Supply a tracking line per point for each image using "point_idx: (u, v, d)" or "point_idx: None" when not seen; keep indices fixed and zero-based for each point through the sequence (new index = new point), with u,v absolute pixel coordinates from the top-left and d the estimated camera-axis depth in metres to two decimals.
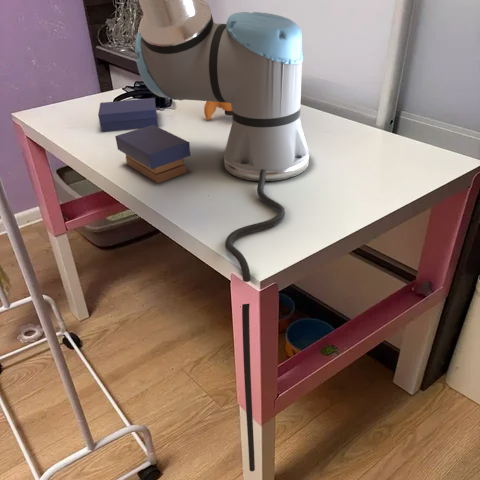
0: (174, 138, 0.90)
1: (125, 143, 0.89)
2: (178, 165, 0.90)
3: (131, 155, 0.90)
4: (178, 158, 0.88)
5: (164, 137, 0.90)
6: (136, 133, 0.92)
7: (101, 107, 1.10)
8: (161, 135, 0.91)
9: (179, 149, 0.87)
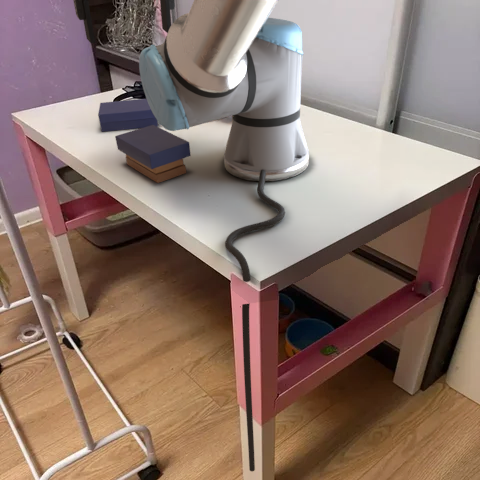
0: (174, 138, 0.90)
1: (125, 143, 0.89)
2: (178, 165, 0.90)
3: (131, 155, 0.90)
4: (178, 158, 0.88)
5: (164, 137, 0.90)
6: (136, 133, 0.92)
7: (101, 107, 1.10)
8: (161, 135, 0.91)
9: (179, 149, 0.87)
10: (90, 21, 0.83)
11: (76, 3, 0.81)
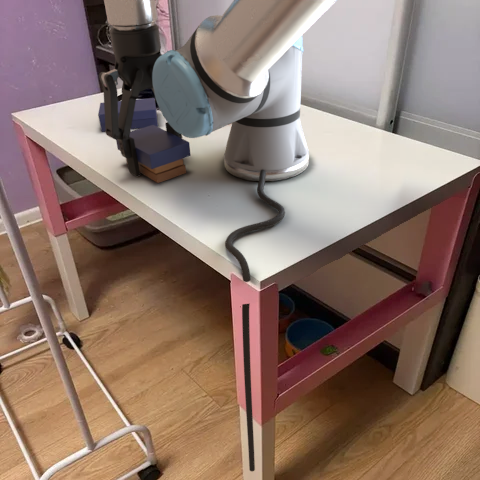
0: (174, 138, 0.90)
1: None
2: (178, 165, 0.90)
3: None
4: (178, 158, 0.88)
5: (164, 137, 0.90)
6: (136, 133, 0.92)
7: (101, 107, 1.10)
8: (161, 136, 0.91)
9: (179, 149, 0.87)
10: (136, 158, 0.88)
11: (123, 145, 0.86)
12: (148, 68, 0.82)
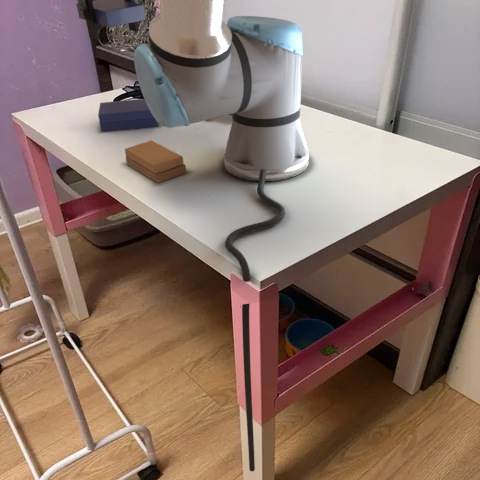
0: (130, 3, 0.96)
1: None
2: (178, 165, 0.90)
3: None
4: (134, 20, 0.95)
5: (122, 3, 0.97)
6: (96, 1, 0.99)
7: (101, 107, 1.10)
8: (119, 2, 0.97)
9: (134, 10, 0.94)
10: (95, 20, 0.95)
11: (82, 5, 0.93)
12: None
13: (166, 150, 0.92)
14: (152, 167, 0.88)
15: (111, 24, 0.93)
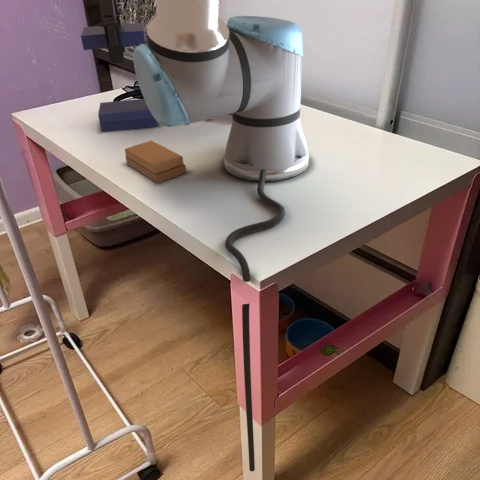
0: (126, 24, 1.03)
1: (101, 36, 0.98)
2: (178, 165, 0.90)
3: None
4: None
5: (119, 26, 1.02)
6: (90, 31, 1.00)
7: (101, 107, 1.10)
8: None
9: None
10: (121, 44, 0.99)
11: (115, 31, 0.96)
12: None
13: (166, 150, 0.92)
14: (152, 167, 0.88)
15: (145, 42, 1.00)
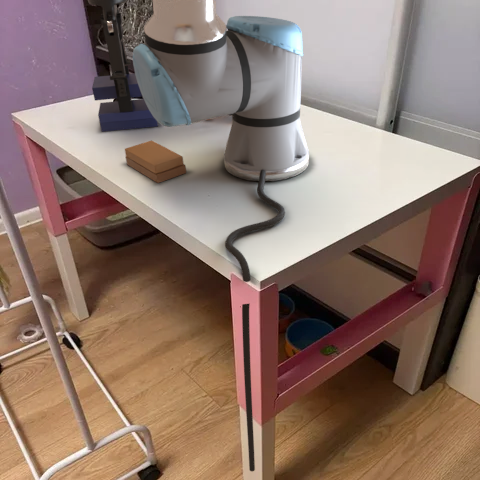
0: (134, 74, 1.09)
1: (111, 88, 1.04)
2: (178, 165, 0.90)
3: None
4: None
5: (127, 76, 1.09)
6: (100, 82, 1.06)
7: (101, 107, 1.10)
8: None
9: None
10: None
11: (124, 83, 1.02)
12: (118, 15, 1.00)
13: (166, 150, 0.92)
14: (152, 167, 0.88)
15: None
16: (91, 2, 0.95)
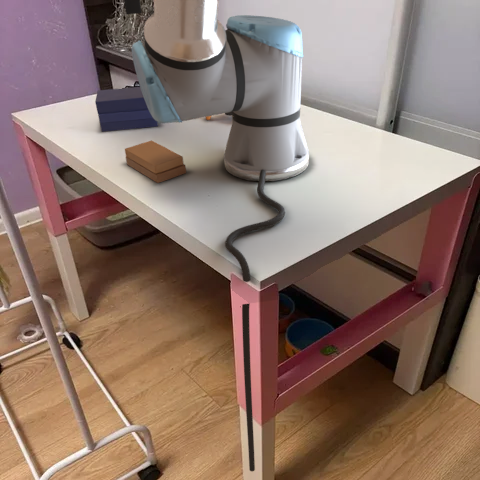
0: (137, 88, 1.11)
1: (114, 102, 1.06)
2: (178, 165, 0.90)
3: (122, 109, 1.07)
4: None
5: (130, 90, 1.10)
6: (103, 96, 1.08)
7: None
8: (125, 90, 1.10)
9: None
10: None
11: None
12: None
13: (166, 150, 0.92)
14: (152, 167, 0.88)
15: None
16: None
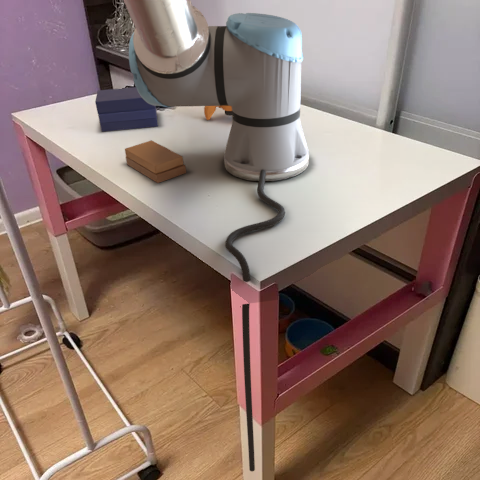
0: None
1: (114, 102, 1.06)
2: (178, 165, 0.90)
3: (122, 109, 1.07)
4: None
5: (130, 90, 1.10)
6: (103, 96, 1.08)
7: None
8: (125, 90, 1.10)
9: None
10: None
11: None
12: None
13: (166, 150, 0.92)
14: (152, 167, 0.88)
15: (154, 106, 1.08)
16: None
